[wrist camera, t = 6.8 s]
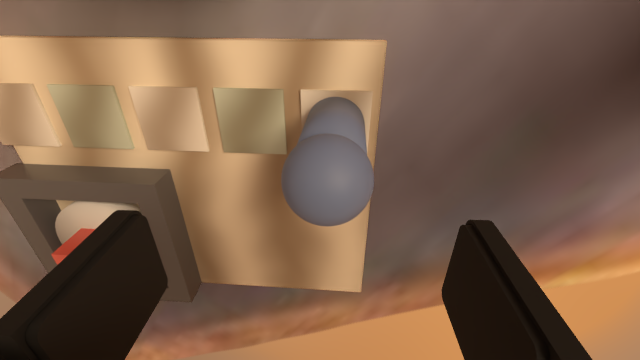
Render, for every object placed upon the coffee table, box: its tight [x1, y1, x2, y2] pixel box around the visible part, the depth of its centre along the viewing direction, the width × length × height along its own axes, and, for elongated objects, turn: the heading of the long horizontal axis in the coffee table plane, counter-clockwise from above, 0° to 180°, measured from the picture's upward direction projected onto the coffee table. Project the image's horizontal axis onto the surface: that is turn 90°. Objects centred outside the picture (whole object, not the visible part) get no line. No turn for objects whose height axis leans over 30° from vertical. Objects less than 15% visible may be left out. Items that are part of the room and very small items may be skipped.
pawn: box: [281, 97, 374, 227], centre depth 15 cm, size 4×4×8 cm
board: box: [0, 36, 387, 292], centre depth 22 cm, size 24×19×1 cm
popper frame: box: [0, 163, 202, 302], centre depth 23 cm, size 11×11×2 cm
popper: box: [51, 201, 142, 265], centre depth 22 cm, size 7×7×4 cm
